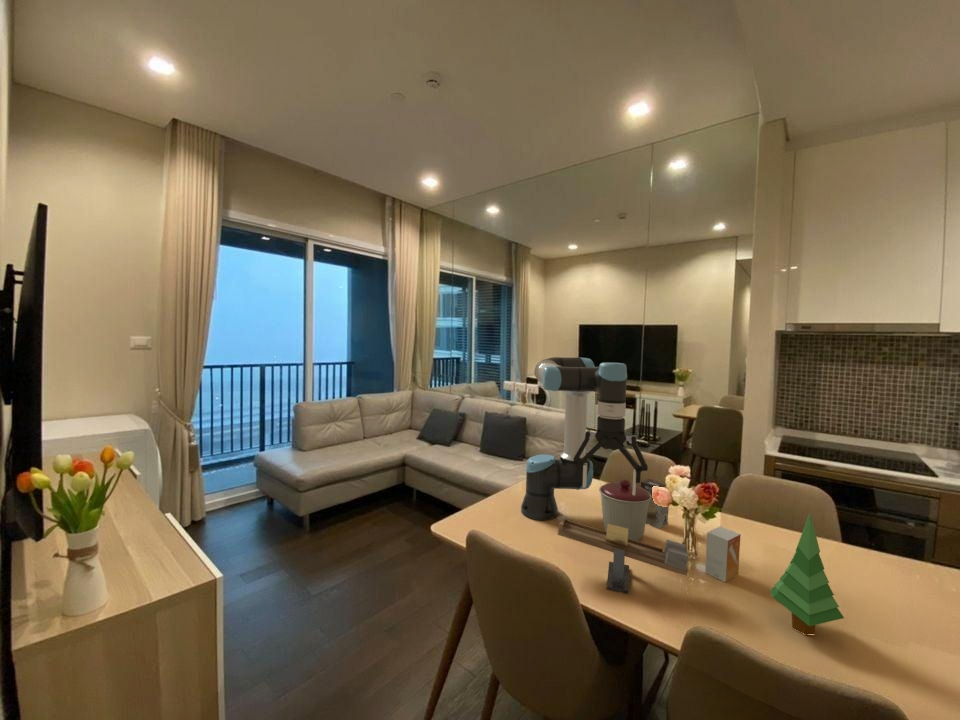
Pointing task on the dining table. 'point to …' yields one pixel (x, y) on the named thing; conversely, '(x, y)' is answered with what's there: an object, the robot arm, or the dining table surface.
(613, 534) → the block
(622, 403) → the robot arm
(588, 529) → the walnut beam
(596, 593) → the dining table surface
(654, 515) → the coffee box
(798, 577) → the decorative tree
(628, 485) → the canister
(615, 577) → the beam stand
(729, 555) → the small box
